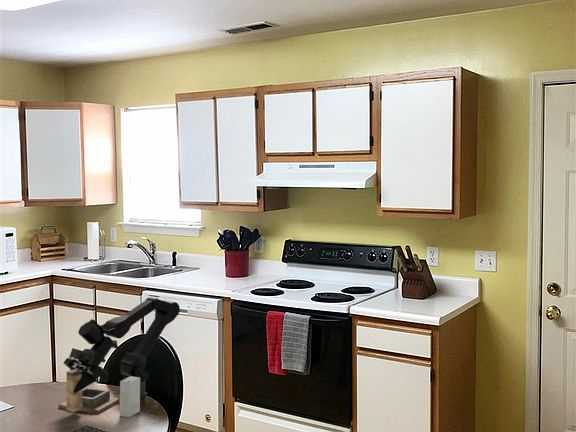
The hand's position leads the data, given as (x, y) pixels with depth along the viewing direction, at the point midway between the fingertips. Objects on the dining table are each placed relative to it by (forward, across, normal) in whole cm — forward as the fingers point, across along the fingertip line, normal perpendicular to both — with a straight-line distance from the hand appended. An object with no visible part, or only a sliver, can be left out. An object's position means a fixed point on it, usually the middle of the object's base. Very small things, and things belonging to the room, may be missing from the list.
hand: (70, 391), depth 218 cm
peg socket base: (-1, -4, +13) cm, 14 cm away
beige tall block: (+4, 0, +6) cm, 7 cm away
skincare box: (-4, +14, +16) cm, 21 cm away
